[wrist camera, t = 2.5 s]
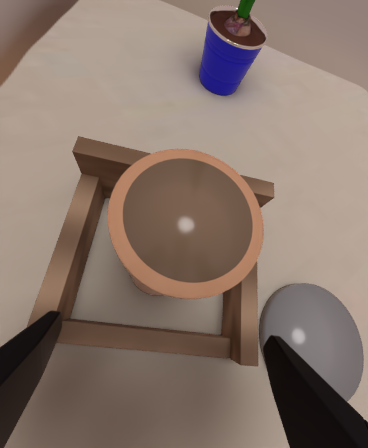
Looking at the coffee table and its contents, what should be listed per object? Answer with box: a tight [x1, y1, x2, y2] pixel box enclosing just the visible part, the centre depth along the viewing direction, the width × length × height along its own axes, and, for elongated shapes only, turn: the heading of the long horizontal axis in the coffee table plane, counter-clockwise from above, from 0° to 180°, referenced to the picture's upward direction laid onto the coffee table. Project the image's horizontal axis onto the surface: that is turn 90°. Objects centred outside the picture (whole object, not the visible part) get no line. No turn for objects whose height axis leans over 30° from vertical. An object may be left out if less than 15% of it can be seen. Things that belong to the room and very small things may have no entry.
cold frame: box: [27, 136, 274, 366], centre depth 18 cm, size 15×17×7 cm
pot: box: [108, 149, 264, 299], centre depth 15 cm, size 7×7×13 cm
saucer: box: [259, 284, 364, 401], centre depth 21 cm, size 11×11×1 cm
